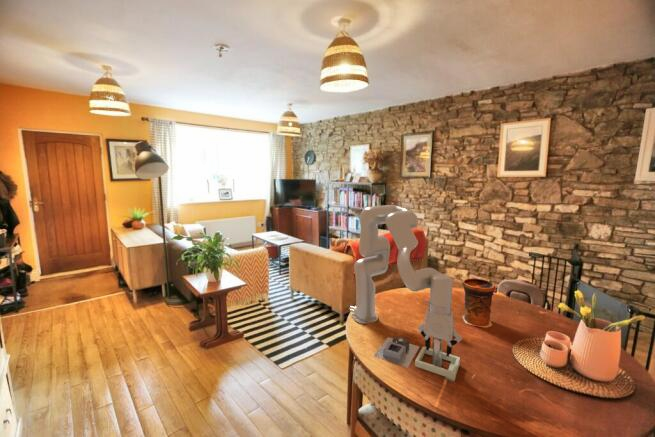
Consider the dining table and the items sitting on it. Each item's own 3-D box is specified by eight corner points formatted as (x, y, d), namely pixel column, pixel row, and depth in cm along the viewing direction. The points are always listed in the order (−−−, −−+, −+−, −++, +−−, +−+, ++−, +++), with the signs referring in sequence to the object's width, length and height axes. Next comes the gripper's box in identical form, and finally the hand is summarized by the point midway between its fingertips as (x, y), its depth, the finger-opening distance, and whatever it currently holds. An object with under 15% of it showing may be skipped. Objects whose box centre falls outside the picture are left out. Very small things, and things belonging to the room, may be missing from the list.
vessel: (460, 325, 144) (463, 285, 141) (459, 312, 157) (462, 276, 154) (494, 331, 139) (497, 289, 136) (490, 317, 152) (493, 279, 149)
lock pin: (429, 365, 114) (430, 333, 112) (432, 359, 117) (433, 328, 115) (441, 369, 111) (442, 336, 109) (444, 363, 115) (445, 331, 113)
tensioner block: (373, 358, 120) (373, 349, 120) (388, 339, 133) (388, 330, 133) (407, 370, 113) (407, 360, 112) (419, 348, 126) (420, 340, 125)
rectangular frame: (414, 368, 114) (415, 360, 113) (422, 353, 123) (423, 346, 122) (454, 381, 106) (454, 373, 106) (459, 364, 115) (459, 357, 115)
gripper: (413, 305, 112) (412, 349, 115) (463, 317, 103) (461, 364, 106) (419, 298, 118) (418, 340, 121) (467, 308, 109) (464, 353, 112)
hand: (438, 351), depth 113 cm, fingers open, 6 cm apart
